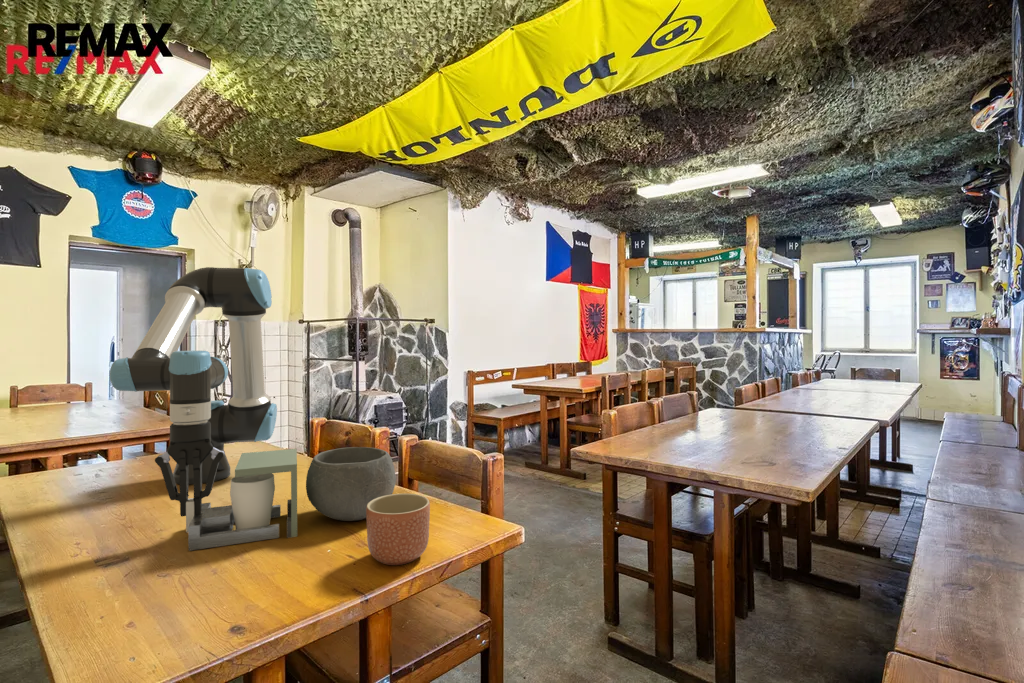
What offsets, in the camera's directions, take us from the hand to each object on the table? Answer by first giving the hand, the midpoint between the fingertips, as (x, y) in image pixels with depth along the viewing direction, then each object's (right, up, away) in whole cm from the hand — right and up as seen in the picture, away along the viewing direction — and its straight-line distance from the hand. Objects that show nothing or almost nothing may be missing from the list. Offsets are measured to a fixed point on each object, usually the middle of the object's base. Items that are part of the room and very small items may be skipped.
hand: (191, 529), depth 109 cm
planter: (+47, -2, -9) cm, 48 cm away
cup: (+11, -2, +5) cm, 12 cm away
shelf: (+13, -2, +6) cm, 15 cm away
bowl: (+31, -2, +14) cm, 34 cm away
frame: (+8, -2, +3) cm, 8 cm away
